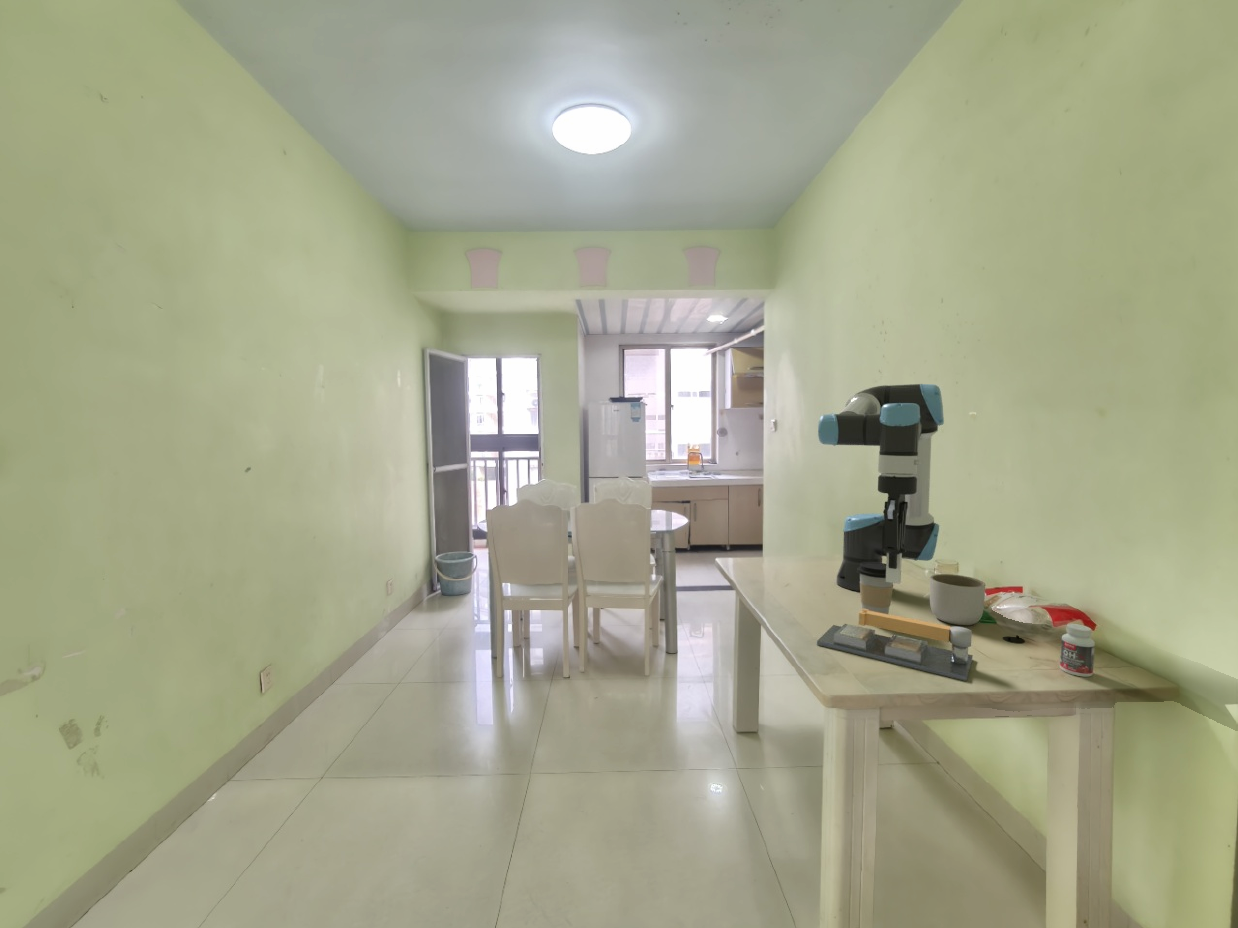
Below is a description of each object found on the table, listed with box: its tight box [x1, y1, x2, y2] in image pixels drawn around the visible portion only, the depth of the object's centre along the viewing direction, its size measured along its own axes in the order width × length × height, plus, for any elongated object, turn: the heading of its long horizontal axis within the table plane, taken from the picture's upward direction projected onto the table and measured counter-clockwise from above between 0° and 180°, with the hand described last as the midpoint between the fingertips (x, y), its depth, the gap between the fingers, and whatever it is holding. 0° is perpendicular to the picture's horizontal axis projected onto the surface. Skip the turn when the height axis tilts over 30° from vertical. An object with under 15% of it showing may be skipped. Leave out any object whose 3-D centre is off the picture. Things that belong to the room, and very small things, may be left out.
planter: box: [929, 573, 986, 626], centre depth 146 cm, size 12×12×11 cm
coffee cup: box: [857, 562, 894, 614], centre depth 145 cm, size 9×9×15 cm
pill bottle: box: [1059, 623, 1096, 678], centre depth 115 cm, size 5×5×10 cm
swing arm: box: [858, 608, 973, 648], centre depth 123 cm, size 22×4×3 cm, turn 53°
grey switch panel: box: [816, 623, 974, 682], centre depth 125 cm, size 13×30×5 cm, turn 53°
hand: (893, 581), depth 120 cm, fingers closed
